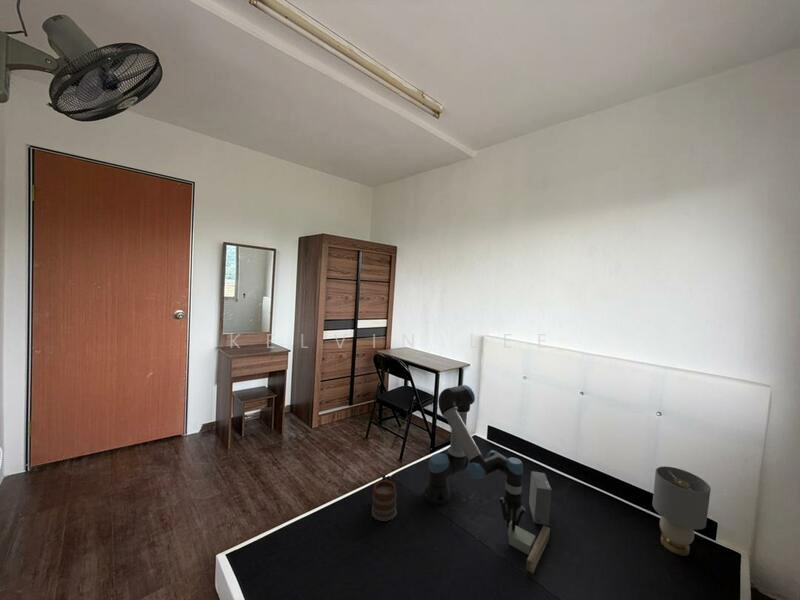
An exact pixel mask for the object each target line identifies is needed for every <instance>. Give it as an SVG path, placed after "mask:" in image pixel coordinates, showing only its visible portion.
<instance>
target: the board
mask: <svg viewBox="0 0 800 600" xmlns="http://www.w3.org/2000/svg"><path fill="white" fill-rule="evenodd" d="M550 532H551V527H548V526H547V525H542V527H541V530H540V532H539V534H538V536H537V538H536V539H535V544H534V546H533V548H532V550H531V552H530V554H529V555H528V556H527V558H526V570H525V571H528V573H529V572H530V573H531V574H534V573H535V571H536V568H537V566H538V564H539V562H540V560H541V557H542V556H543V555H542V554H543V553H544V550H545V548H546V547H547V543H548V541H549V539H550V534H551V533H550Z"/></svg>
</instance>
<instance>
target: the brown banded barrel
mask: <svg viewBox="0 0 800 600" xmlns="http://www.w3.org/2000/svg"><path fill="white" fill-rule="evenodd" d="M396 487H397V486H396V484H395V483H394V482H392V481H391V480H387V476H386V474H385V473H384V474H382V478H381V480H379V481H377V482H376V483H375V484H374V486H373V491H372V495H371V496H372V502H371V505H372V508H371V510H372V511H370V513H372V514H371V517H372V518H373V517H374V518H375V519H374V518H373V519H374V520H376V519H377V520H380V521H388V520H390V521H392V520H394V519H395V518H396V516H397V514H398V513H397V512H398V511H397V495H398V494H397V488H396ZM394 517H395V518H394ZM393 518H394V519H393ZM391 519H392V520H391ZM377 520H376V521H377ZM380 521H379V522H380ZM388 522H389V521H388Z"/></svg>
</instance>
